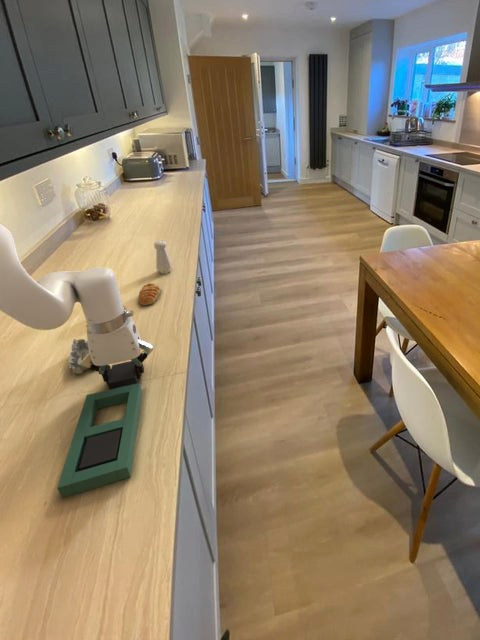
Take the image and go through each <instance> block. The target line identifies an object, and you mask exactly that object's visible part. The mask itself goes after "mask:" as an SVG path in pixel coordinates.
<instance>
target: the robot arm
mask: <svg viewBox="0 0 480 640" xmlns="http://www.w3.org/2000/svg"><path fill="white" fill-rule="evenodd" d="M120 291H121V290H120V288H119V284H118V280H117V277H116V273H115V272H114V270H112V268H110V267H107V266H95V267H91V268H87V269H85V270H59V271H52V272H48V273H46V274H44V275H42V276H41V277H40V278H39V279H38V280H37V281H36V280H35V279H34V278H33V277H31V275H30V274H29V273H28V271H26V269H25V267H24V266H23V264H22V263H21V261H20V258H19V256H18V251H17V246H16V242H15V239H14V236H13V235H12V232H11V231H10V230H9V229H8V228H7V227H5V226H4V225H3V224H2V223H0V312H2V313H4V314H5V315H6V316H8V317H10V318H11V319H14V320H15V321H17V322H18V323H21V324H22V325H24V326H27V327H29V328H31V329H34V330H40V331H51V330H55V329H59V328H60V327H61V326H64V325H65V324H66V323H67V322H68V321H69V319H70V318H71V317H72V314H73V311H74V308H75V306H76V305H75V304H77V303H79V304H80V306H81V309H82V312H83V315H84V318H85V321H86V323H87V328H86V339H87V340H86V341H88V348H89V353H88V354H87V355H86V356H85V358H84V359H83V360H82V363H81V365H82V366H85V367H88V369H90V370H92V371H95V372H97V373H98V375H101V376H102V380H103V382H104V383H106V385H107V387H109V386H108V380H109V376H110V372H111V368H112V366H111V365H114V364H118V363H123V362H127V361H132V362H133V363H134V364H135V372H136V374H137V378H138V379H139V380H141V379H142V374H144V373H145V366H144V361H145V360H146V359H147V358H148V357H149V355H150V354H151V353H152V352H153V351H154V344H151V343H148V342H146V341H144V340H142V338H141V336H140V332H139V330H138V327H137V325H136V324H135V322H134V320H133V318H132V317H133V316H134V312H133V310H127V309H126V307H125V306H124V302H123V299H122V295H121V292H120ZM141 350H143V351H142V352H141Z"/></svg>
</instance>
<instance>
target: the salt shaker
mask: <svg viewBox="0 0 480 640" xmlns="http://www.w3.org/2000/svg"><path fill="white" fill-rule="evenodd" d="M153 247H154V249H155V250H156V251H155V252H156V257H155V259H156V260H155V263H156V265H155V267H156V270H157V271H158V272H159V274H161V275H166V274H168V273H171V270H172V267H173V265H172V264H173V263H172V261H171V259H170V257H169V254H168V251H167V249H166V247H167V242H166V241H164V240H157V241H155V242H154V243H153Z"/></svg>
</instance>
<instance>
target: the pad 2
mask: <svg viewBox="0 0 480 640" xmlns="http://www.w3.org/2000/svg"><path fill="white" fill-rule="evenodd" d="M139 381H140V379H138V378H137V374H136V372H135V364H134V363H133V362H132V361H131V360H128V361H123V362H119V363H114V364H111V372H110V376H109V380H108V386H107V387H108V390H111V389H115V388H119V387H123V386H128V385H132V384H137V383H139Z"/></svg>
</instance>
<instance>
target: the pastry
mask: <svg viewBox="0 0 480 640" xmlns="http://www.w3.org/2000/svg"><path fill="white" fill-rule="evenodd" d="M160 292H161V287H160V286H158V285H157V284H156V283H152V282H151V283H146V284H144V285H143V286H142V287H141V289H140V290H139V292H138V300H139V302H140V304H141V305H142V306H147V305H152V304H154V303H155V301H156V300H158V298H159V296H160Z"/></svg>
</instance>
